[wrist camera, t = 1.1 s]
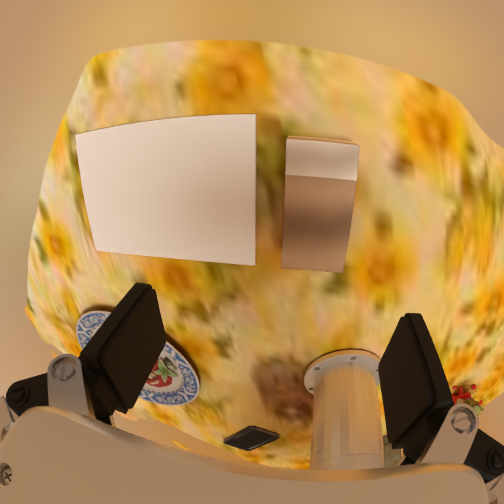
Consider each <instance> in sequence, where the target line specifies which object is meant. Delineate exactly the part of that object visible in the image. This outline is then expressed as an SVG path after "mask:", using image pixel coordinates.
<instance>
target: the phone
mask: <svg viewBox="0 0 504 504" xmlns="http://www.w3.org/2000/svg"><path fill="white" fill-rule="evenodd" d="M277 439H279V434H277V433H274V432H271V431H268V430H265V429H262V428H259V427H256V426H248V427H247V428H245V429H243V430H241V431H239V432H237V433H235V434H233V435H231V436H230V437H228V438H226V439H224V441H223V443H225V444H227V445H230V446H233V447H236V448H239V449H242V450H246V451H251V450H253V449H256V448H258V447H260V446H263V445H265V444H267V443H270V442H272V441H274V440H277Z"/></svg>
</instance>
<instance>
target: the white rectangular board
mask: <svg viewBox="0 0 504 504" xmlns="http://www.w3.org/2000/svg"><path fill="white" fill-rule="evenodd" d="M76 145H77V154H78V162H79V169H80V176H81V182H82V188H83V194H84V199H85V204H86V209H87V214H88V219H89V223H90V228H91V232H92V236H93V240H94V244H95V248H96V251H104V252H113V253H123V254H133V255H143V256H153V257H164V258H174V259H185V260H196V261H207V262H218V263H230V264H241V265H253V266H255V264H256V114H230V115H207V116H192V117H180V118H170V119H161V120H153V121H145V122H138V123H132V124H126V125H120V126H114V127H109V128H104V129H99V130H94V131H89V132H85V133H81V134H76Z"/></svg>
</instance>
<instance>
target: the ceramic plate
mask: <svg viewBox="0 0 504 504" xmlns="http://www.w3.org/2000/svg"><path fill="white" fill-rule="evenodd" d="M110 314H111V312H107V311H90V312H87V313H85V314H83V315H82V316H81V317H80V318H79V320H78V321H77V325H76V334H77V338H78V341H79V344H80V346H81V348H82V350H83V349H84V347H85V346H86V345H87V343H88V342H89V341H90V339H91V338H92V337H93V335H94V334H95V333H96V331H97V330H98V329H99V328H100V326H101V325H102V324H103V322H104V321H105V320H106V319H107V317H108V316H109V315H110ZM199 389H200V385H199V380H198V377H197V375H196V373H195V371H194V369H193V368H192V366H191V365H190V363H189V362H188V361H187V360H186V359H185V357H184V356H183V355H182V354H181V353H180V352H179V351H178V350H177V349H175V348H174V347H173V346H172V345H171V344H170V343H169V342H167V341H166V344H165V347H164V349H163V350H162V352H161V354H160V356H159V358H158V360H157V362H156V364H155V366H154V367H153V369H152V371H151V373H150V375H149V377H148V379H147V381H146V383H145V385H144V387H143V389H142V391H141V393H140V395H139V398H141V399H144V400H146V401H150V402H153V403H157V404H162V405H183V404H187V403H189V402H191V401H193V400H194V399H195V398H196V397H197V396H198V393H199Z"/></svg>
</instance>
